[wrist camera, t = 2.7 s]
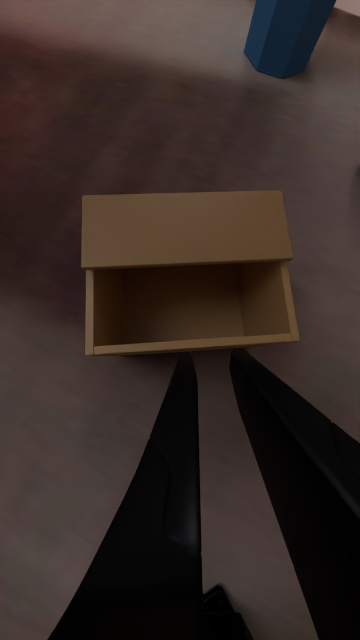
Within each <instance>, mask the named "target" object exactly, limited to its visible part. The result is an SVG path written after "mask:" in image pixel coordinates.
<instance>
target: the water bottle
mask: <svg viewBox="0 0 360 640" xmlns="http://www.w3.org/2000/svg"><path fill="white" fill-rule="evenodd" d="M335 2H336V0H256V4H255V8H254V12H253V16H252V20H251V24H250V29H249V33H248V37H247V41H246V45H245V50H244V52H245V54H246V55H247V57H248V58H249V60H250V61H251V63H252V64H253V66H254V67H255V69H256V70H257V71H260V72H263V73H266V74H269V75H272V76H275V77H278V78H281V79H282V78H285V77H288V76H291V75H294V74H297V73H300V72H303V71H304V69H305V67H306V65H307V62H308V60H309V58H310V56H311V54H312V52H313V49H314V47H315V45H316V43H317V41H318V39H319V36H320V34H321V32H322V30H323V28H324V26H325V24H326V21H327V19H328V17H329V15H330V13H331V11H332V8H333V6H334V4H335Z"/></svg>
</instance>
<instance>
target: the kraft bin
mask: <svg viewBox="0 0 360 640" xmlns="http://www.w3.org/2000/svg"><path fill="white" fill-rule="evenodd" d="M295 341H300V338H299V332H298V326H297V321H296V315H295V309H294V303H293V297H292V291H291V285H290V279H289V273H288V267H287V261H275V262H253V263H231V264H210V265H188V266H166V267H144V268H123V269H101V270H86V329H85V355H91V356H128V355H142V354H157V353H171V352H186V351H201V350H215V349H230V348H245V347H254V346H263V345H271V344H279V343H287V342H295Z"/></svg>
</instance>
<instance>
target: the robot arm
mask: <svg viewBox="0 0 360 640" xmlns="http://www.w3.org/2000/svg"><path fill="white" fill-rule="evenodd" d="M229 369H230V374H231V379H232V383H233V387H234V392H235V396H236V400H237V404H238V408H239V412H240V415H241V417H242V420H243V423H244V426H245V429H246V432H247V435H248V437H249V440H250V443H251V446H252V449H253V452H254V455H255V457H256V460H257V463H258V466H259V469H260V472H261V475H262V477H263V480H264V483H265V486H266V489H267V492H268V495H269V497H270V500H271V503H272V506H273V509H274V512H275V515H276V517H277V520H278V523H279V526H280V529H281V532H282V535H283V537H284V540H285V543H286V546H287V549H288V552H289V555H290V557H291V560H292V563H293V565H294V569H295V572H296V575H297V578H298V581H299V584H300V586H301V589H302V592H303V595H304V598H305V601H306V604H307V606H308V609H309V612H310V615H311V618H312V621H313V624H314V626H315V629H316V632H317V635H318V638H319V640H360V443H358V442H357V441H356V440H355V439H353V438H352V437H351V436H349V435H348V434H347V433H346V432H344V431H343V430H342V429H341V428H340V427H338V426H337V425H336V424H335V423H331V420H330V419H328V418H327V417H326V416H325V415H323V414H322V413H321V412H320V411H319V410H317V409H316V408H315V407H314V406H312V405H311V404H310V403H309V402H308V401H306V400H305V399H304V398H303V397H301V396H300V395H299V394H298V393H297V392H295V391H294V390H293V389H292V388H290V387H289V386H288V385H287V384H285V383H284V382H283V381H282V380H281V379H279V378H278V377H277V376H276V375H274V374H273V373H272V372H271V371H270V370H268V369H267V368H266V367H265V366H263V365H262V364H261V363H260V362H258V361H257V360H256V359H255V358H254V357H252V356H251V355H250V354H249V353H247V352H246V351H245V350H243V349H236V350H232V352H231V358H230V364H229ZM219 594H220V595H221V596H219V597H218V595H219ZM47 640H254V639H253V637H252V635H251V633H250V631H249V629H248V627H247V626H246V624H245V622H244V620H243V618H242V616H241V614H240V613H238V612H237V613H235V611H234V609H233V607H232V605H231V603H230V601H229V599H228V597H227V595H226V593H225V591H224V589H223V588H222V587H221V586H216V587H214V588H213V589H212V590H210V591H209V592H208V593H206V594H205V595H204V596H203V588H202V556H201V510H200V467H199V425H198V384H197V375H196V371H195V366H194V362H193V357H192V354H191V353H181V354H180V356H179V359H178V362H177V365H176V367H175V370H174V373H173V375H172V378H171V381H170V383H169V386H168V389H167V391H166V394H165V397H164V400H163V402H162V405H161V408H160V410H159V413H158V416H157V418H156V421H155V424H154V426H153V429H152V432H151V435H150V439H149V440H148V442H147V445H146V448H145V450H144V453H143V455H142V458H141V460H140V463H139V465H138V468H137V470H136V473H135V475H134V477H133V479H132V481H131V484H130V486H129V488H128V490H127V492H126V494H125V496H124V499H123V501H122V503H121V505H120V507H119V509H118V511H117V513H116V515H115V517H114V519H113V521H112V523H111V525H110V527H109V529H108V531H107V533H106V535H105V537H104V539H103V541H102V543H101V545H100V547H99V549H98V551H97V553H96V555H95V557H94V559H93V561H92V563H91V565H90V567H89V569H88V571H87V573H86V575H85V577H84V578H83V580H82V582H81V584H80V586H79V588H78V590H77V591H76V593H75V595H74V597H73V599H72V600H71V602H70V604H69V605H68V607H67V609H66V611H65V612H64V614H63V616H62V617H61V619H60V621H59V622H58V624H57V626H56V627H55V629H54V630H53V632H52V633H51V635H50V636H49V638H48V639H47Z"/></svg>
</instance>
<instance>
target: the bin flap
mask: <svg viewBox="0 0 360 640" xmlns="http://www.w3.org/2000/svg"><path fill="white" fill-rule="evenodd" d="M292 259H293V254H292V248H291V242H290V236H289V231H288V225H287V219H286V214H285V208H284V202H283V197H282V191H281V190H272V191H235V192H198V193H161V194H124V195H87V196H83V197H82V260H81V268H82V269H83V270H101V269H123V268H144V267H166V266H188V265H210V264H231V263H253V262H275V261H290V260H292Z"/></svg>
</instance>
